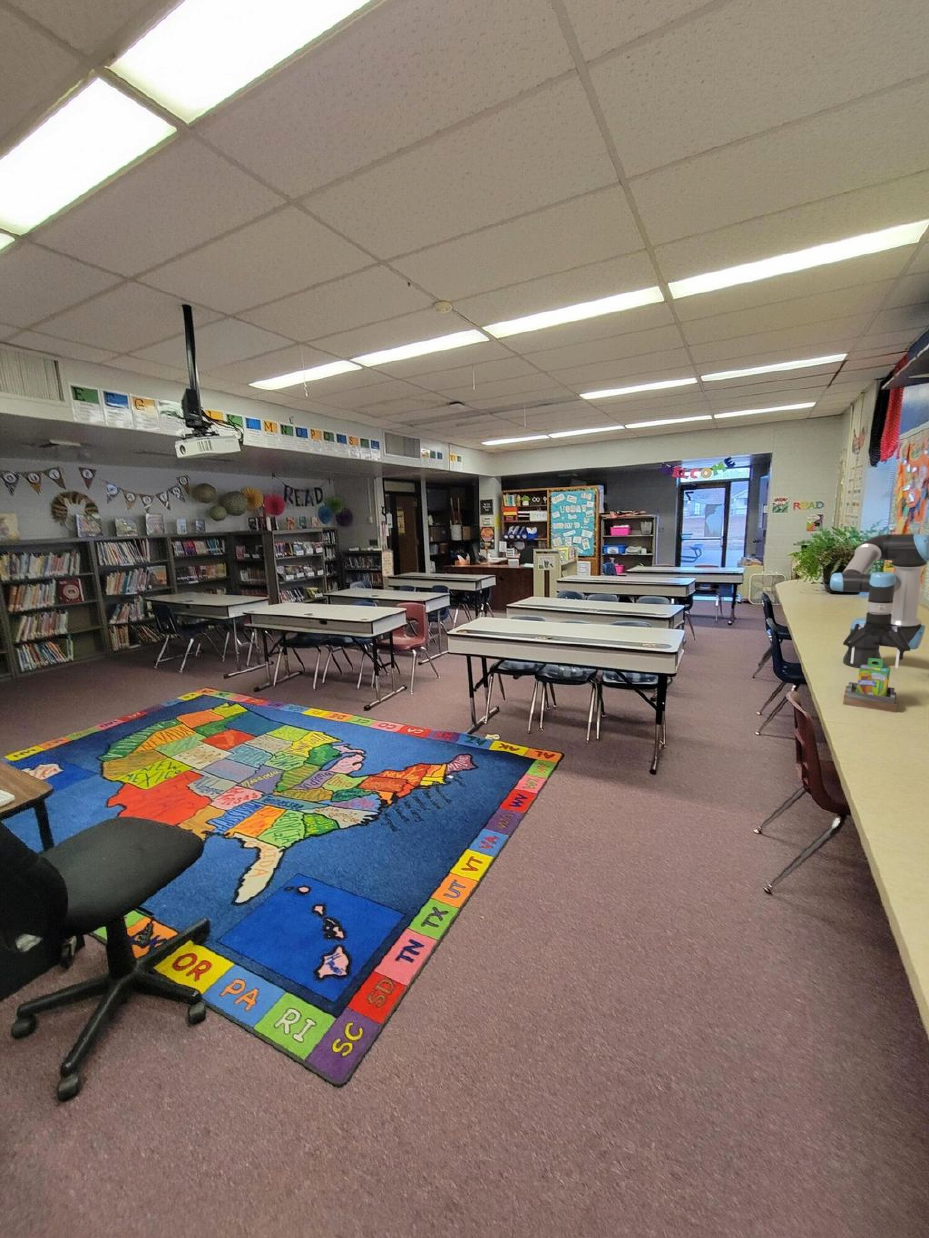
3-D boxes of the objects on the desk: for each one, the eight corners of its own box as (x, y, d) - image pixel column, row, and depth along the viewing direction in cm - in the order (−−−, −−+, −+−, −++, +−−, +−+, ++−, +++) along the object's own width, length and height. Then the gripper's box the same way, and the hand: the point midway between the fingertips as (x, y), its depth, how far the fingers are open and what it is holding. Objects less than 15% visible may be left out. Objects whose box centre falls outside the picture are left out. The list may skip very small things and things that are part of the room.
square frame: (845, 692, 208) (846, 681, 207) (895, 699, 198) (896, 687, 197) (843, 704, 196) (844, 692, 195) (896, 712, 186) (897, 699, 185)
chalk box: (855, 695, 196) (859, 660, 193) (858, 689, 202) (861, 654, 200) (886, 700, 190) (890, 664, 187) (887, 693, 196) (891, 658, 193)
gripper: (838, 612, 195) (833, 663, 199) (923, 616, 179) (916, 672, 183) (839, 608, 200) (835, 658, 205) (922, 613, 185) (915, 666, 189)
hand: (873, 664), depth 194 cm, fingers open, 13 cm apart
